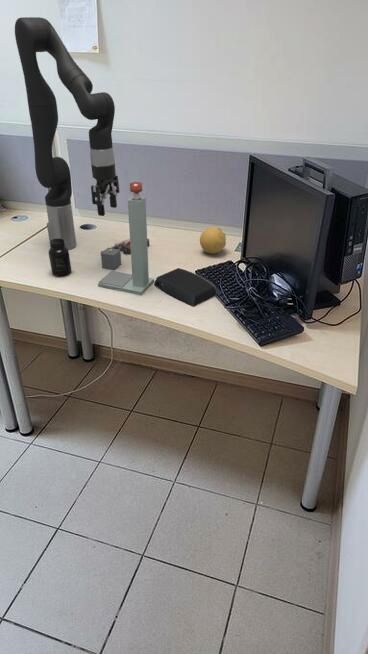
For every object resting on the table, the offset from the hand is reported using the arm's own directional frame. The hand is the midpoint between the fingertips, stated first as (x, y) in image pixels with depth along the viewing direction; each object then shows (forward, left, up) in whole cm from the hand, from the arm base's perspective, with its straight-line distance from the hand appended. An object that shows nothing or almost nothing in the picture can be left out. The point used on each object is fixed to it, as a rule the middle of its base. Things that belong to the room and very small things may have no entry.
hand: (107, 211), depth 161 cm
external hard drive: (+31, -6, -21) cm, 38 cm away
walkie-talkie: (-2, +15, -21) cm, 26 cm away
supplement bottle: (-14, -11, -21) cm, 28 cm away
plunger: (+16, -10, +7) cm, 21 cm away
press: (+10, -10, -21) cm, 25 cm away
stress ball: (+30, +25, -21) cm, 44 cm away
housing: (0, 0, -21) cm, 21 cm away
